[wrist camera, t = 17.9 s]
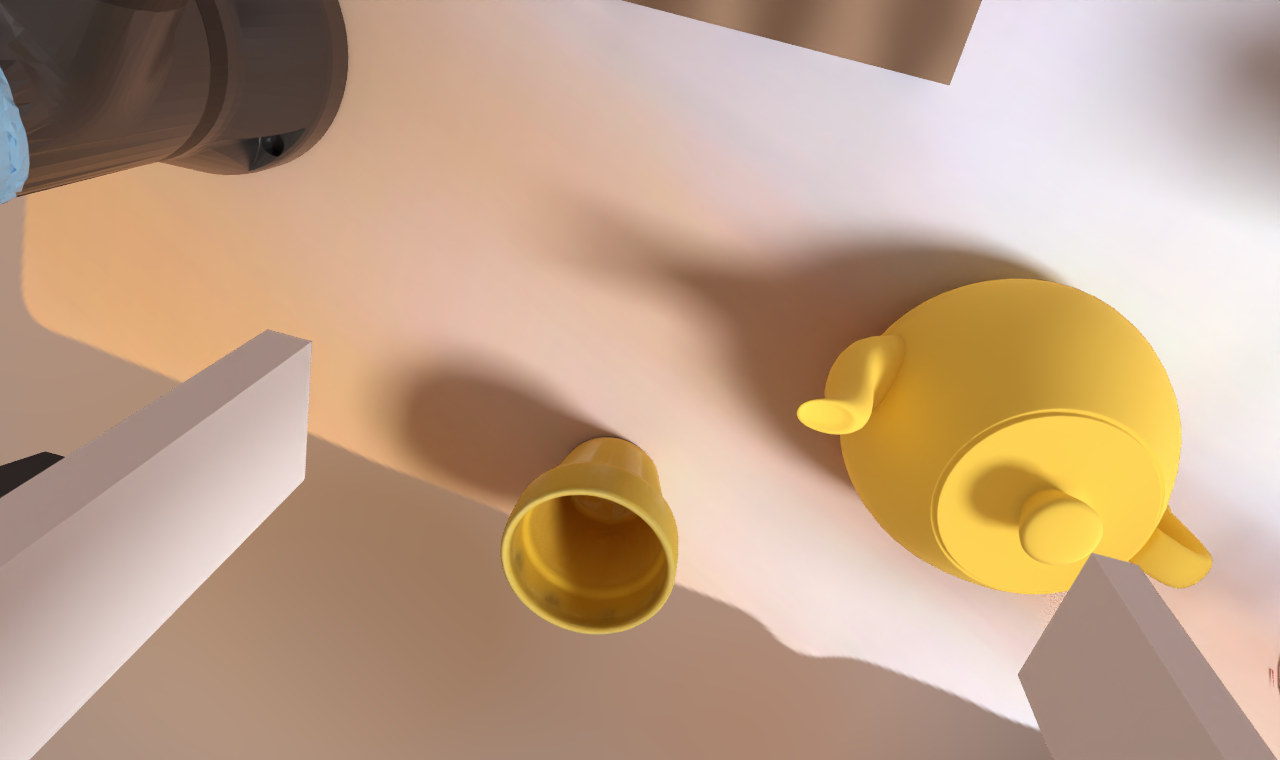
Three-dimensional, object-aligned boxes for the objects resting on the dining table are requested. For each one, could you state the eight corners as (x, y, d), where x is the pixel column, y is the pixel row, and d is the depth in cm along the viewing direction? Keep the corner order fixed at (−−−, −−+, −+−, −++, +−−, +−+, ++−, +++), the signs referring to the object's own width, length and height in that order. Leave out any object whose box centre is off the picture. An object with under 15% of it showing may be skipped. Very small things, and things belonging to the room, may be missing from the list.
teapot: (719, 421, 51) (709, 547, 39) (869, 173, 44) (915, 232, 31) (1049, 582, 53) (1139, 752, 41) (1246, 371, 46) (1430, 500, 33)
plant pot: (715, 454, 52) (708, 542, 43) (646, 562, 57) (627, 662, 48) (576, 384, 51) (539, 459, 43) (516, 499, 56) (472, 589, 47)
